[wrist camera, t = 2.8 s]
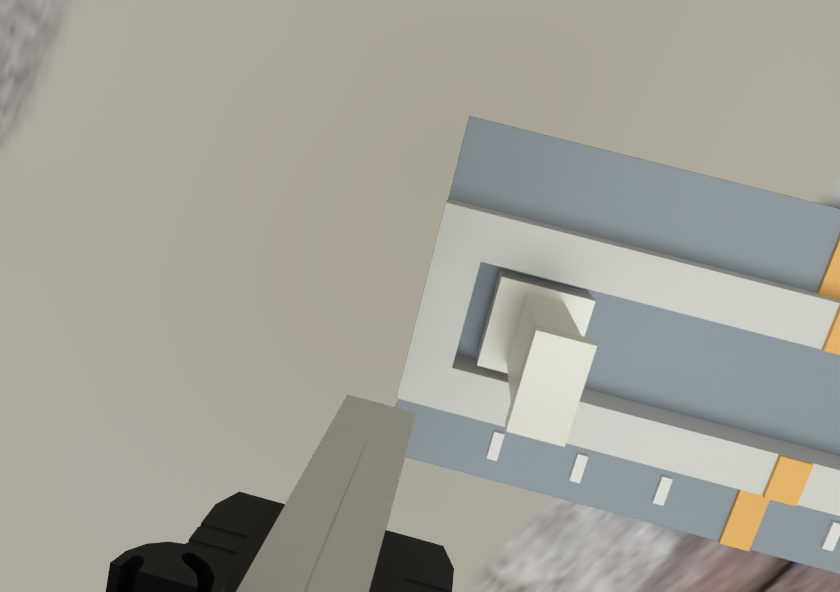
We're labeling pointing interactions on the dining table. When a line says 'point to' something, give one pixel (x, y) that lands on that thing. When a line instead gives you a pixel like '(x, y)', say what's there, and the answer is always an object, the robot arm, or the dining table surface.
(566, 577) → the dining table surface
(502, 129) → the console
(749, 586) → the dining table surface
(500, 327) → the fader tab
